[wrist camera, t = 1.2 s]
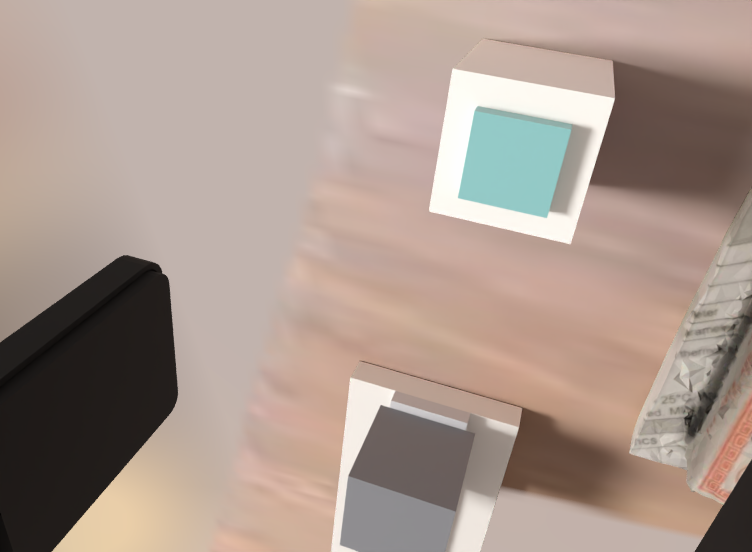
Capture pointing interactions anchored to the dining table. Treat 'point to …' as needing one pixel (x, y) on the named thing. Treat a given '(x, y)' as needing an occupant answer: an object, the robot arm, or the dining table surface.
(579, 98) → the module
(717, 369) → the packaged product
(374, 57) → the dining table surface
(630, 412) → the dining table surface
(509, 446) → the rail board
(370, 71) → the dining table surface
